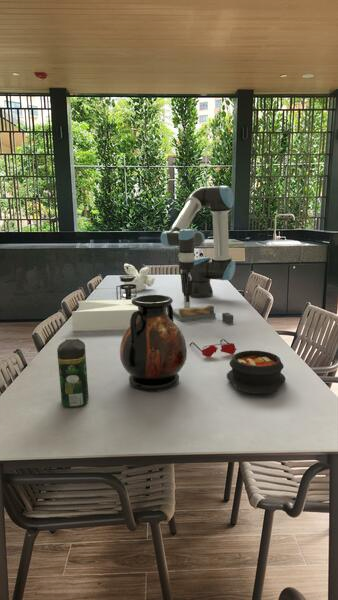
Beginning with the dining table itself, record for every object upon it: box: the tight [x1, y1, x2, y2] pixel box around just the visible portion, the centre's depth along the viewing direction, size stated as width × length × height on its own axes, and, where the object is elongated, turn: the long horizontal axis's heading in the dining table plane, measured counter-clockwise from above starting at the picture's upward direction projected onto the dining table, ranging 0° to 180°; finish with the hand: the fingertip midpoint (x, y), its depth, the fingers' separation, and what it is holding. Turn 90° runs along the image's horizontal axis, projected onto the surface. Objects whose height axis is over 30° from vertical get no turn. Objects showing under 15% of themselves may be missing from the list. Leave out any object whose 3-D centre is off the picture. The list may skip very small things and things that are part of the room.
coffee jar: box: [56, 338, 89, 409], centre depth 129 cm, size 10×8×19 cm
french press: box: [115, 264, 138, 300], centre depth 242 cm, size 12×9×23 cm
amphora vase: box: [119, 294, 188, 392], centre depth 141 cm, size 22×22×28 cm
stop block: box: [221, 312, 234, 325], centre depth 211 cm, size 3×6×4 cm, turn 17°
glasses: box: [189, 338, 237, 358], centre depth 174 cm, size 14×16×5 cm
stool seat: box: [173, 305, 217, 322], centre depth 223 cm, size 18×16×2 cm
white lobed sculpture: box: [123, 263, 156, 293], centre depth 290 cm, size 19×20×20 cm
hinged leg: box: [179, 305, 215, 316], centre depth 217 cm, size 18×4×3 cm, turn 107°
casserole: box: [226, 350, 287, 395], centre depth 142 cm, size 25×19×8 cm
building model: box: [71, 298, 168, 332], centre depth 213 cm, size 45×22×10 cm, turn 93°
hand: (186, 307), depth 222 cm, fingers closed
